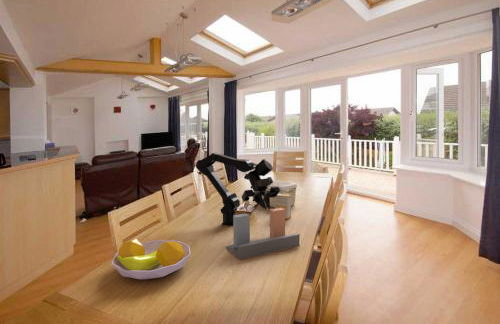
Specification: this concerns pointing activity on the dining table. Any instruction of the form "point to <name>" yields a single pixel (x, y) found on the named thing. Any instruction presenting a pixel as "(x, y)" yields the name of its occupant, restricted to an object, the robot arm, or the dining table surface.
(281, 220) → the terracotta key
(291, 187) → the storage basket
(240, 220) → the slate key
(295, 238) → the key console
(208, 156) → the robot arm
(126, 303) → the dining table surface
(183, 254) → the fruit bowl
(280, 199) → the supplement box
